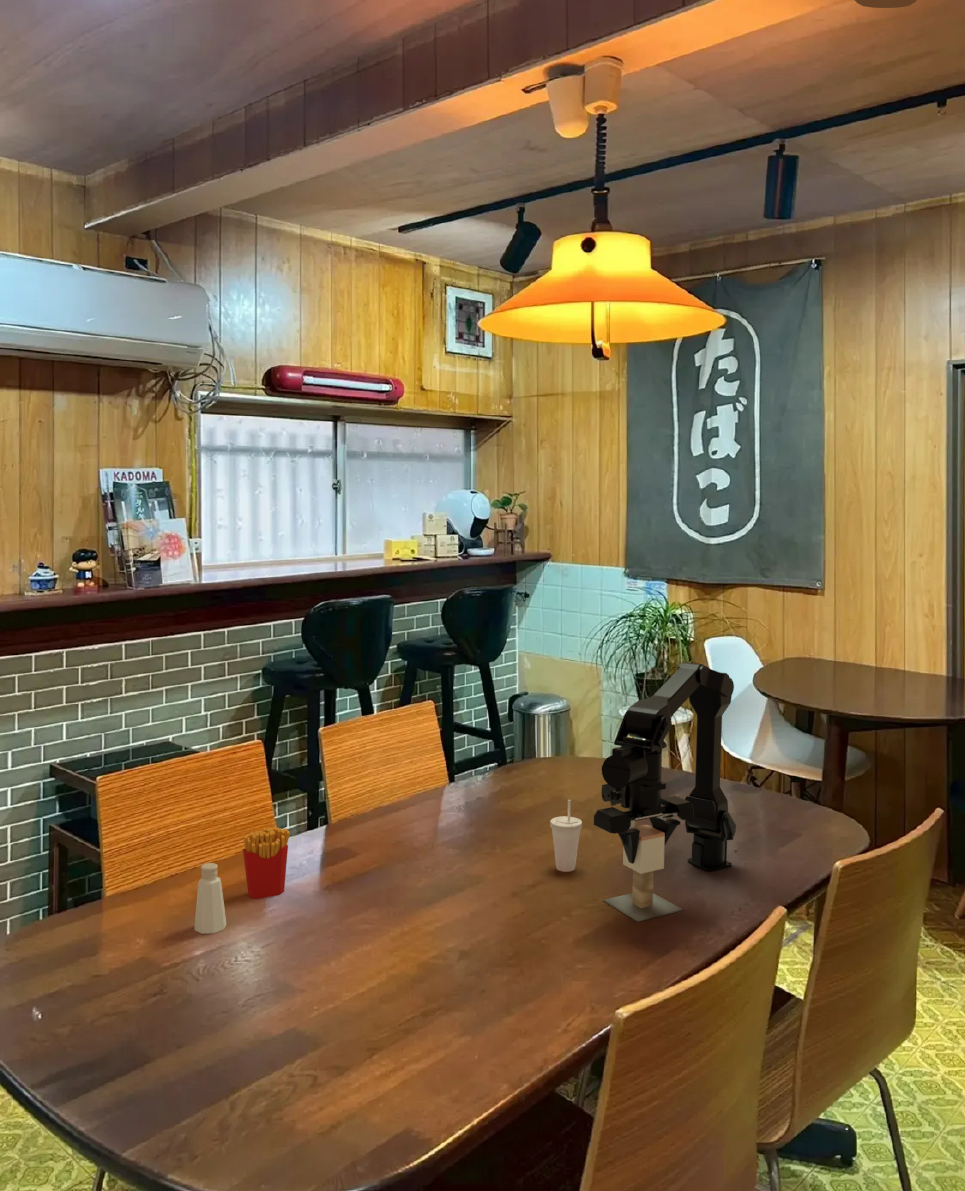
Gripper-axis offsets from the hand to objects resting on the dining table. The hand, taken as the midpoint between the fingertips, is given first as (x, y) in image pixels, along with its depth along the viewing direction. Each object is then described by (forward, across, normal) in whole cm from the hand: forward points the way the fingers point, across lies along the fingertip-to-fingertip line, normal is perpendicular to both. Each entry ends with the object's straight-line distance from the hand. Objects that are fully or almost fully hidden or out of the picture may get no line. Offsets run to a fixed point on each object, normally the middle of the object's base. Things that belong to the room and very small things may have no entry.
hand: (643, 860), depth 179 cm
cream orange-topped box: (+1, 0, 0) cm, 1 cm away
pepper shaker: (+9, +71, -28) cm, 77 cm away
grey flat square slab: (+8, 0, 0) cm, 9 cm away
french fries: (+9, +58, -38) cm, 70 cm away
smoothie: (+9, +2, -22) cm, 24 cm away
